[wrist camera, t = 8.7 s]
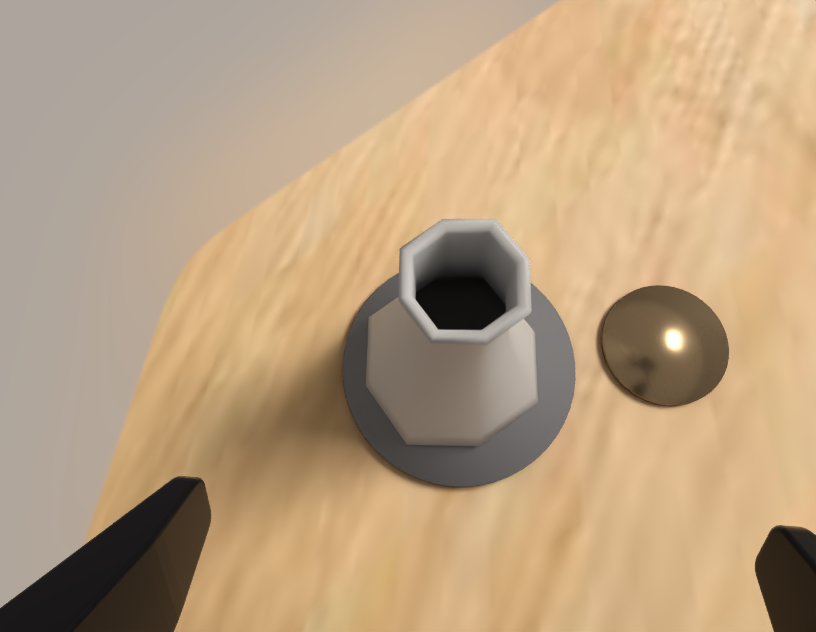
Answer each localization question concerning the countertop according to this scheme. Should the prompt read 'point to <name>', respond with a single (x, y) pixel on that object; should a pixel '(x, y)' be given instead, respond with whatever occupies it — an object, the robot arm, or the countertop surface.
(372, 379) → the flask
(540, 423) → the rubber mat
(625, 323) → the bronze token
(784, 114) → the countertop surface
